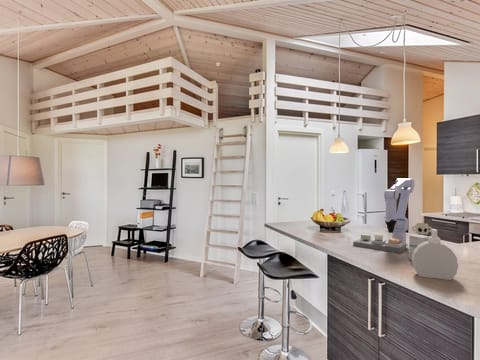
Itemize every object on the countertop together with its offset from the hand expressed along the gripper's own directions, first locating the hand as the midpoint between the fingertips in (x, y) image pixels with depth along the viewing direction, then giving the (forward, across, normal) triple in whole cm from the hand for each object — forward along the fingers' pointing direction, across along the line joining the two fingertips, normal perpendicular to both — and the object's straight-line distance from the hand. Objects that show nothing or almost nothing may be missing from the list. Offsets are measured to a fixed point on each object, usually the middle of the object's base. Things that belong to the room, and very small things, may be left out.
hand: (390, 232), depth 178 cm
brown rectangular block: (+7, +2, +3) cm, 7 cm away
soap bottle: (+9, +44, +28) cm, 53 cm away
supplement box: (+10, +19, +19) cm, 28 cm away
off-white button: (+5, +3, -6) cm, 8 cm away
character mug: (+10, -27, +11) cm, 31 cm away
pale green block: (+7, -2, -15) cm, 17 cm away
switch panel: (+9, +2, -6) cm, 11 cm away
